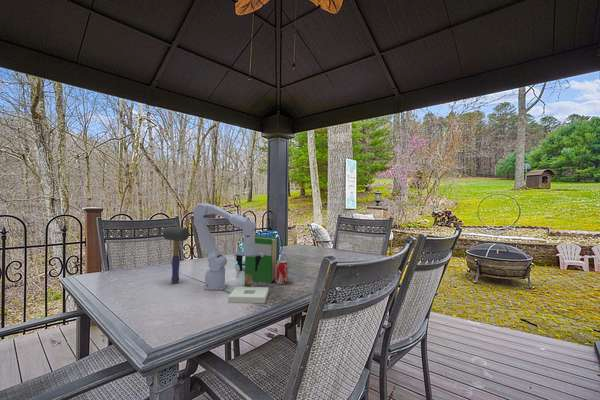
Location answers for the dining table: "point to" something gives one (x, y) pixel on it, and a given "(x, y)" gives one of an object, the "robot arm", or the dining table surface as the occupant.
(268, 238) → the hardback book
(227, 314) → the dining table surface
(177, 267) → the rubber mallet
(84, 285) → the dining table surface
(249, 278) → the oak peg
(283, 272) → the soda can
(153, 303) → the dining table surface
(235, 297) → the sage board
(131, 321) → the dining table surface
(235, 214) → the robot arm
